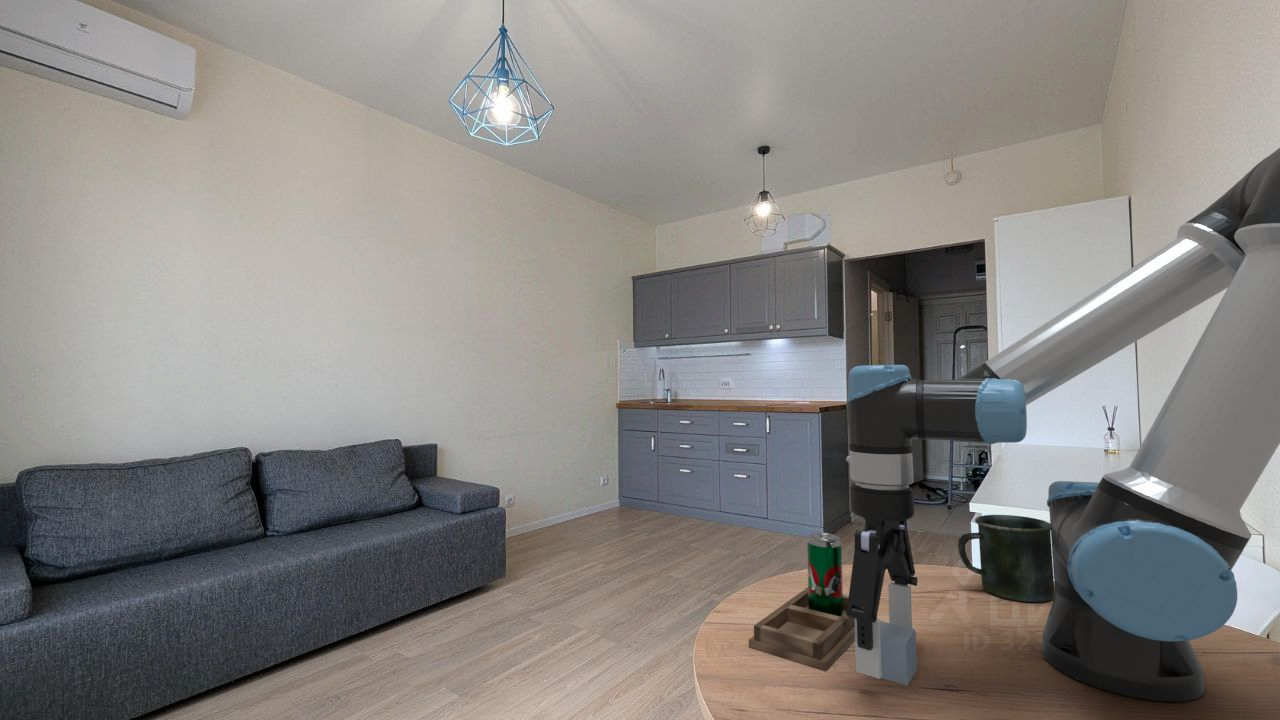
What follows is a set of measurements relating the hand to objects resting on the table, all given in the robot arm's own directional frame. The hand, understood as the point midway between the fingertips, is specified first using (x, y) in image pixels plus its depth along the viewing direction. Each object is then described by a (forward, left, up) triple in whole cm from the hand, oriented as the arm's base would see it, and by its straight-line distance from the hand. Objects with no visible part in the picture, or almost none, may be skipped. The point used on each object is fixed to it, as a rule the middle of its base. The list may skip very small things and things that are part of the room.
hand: (886, 652), depth 70 cm
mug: (-8, -39, -2) cm, 40 cm away
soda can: (+11, -9, -1) cm, 15 cm away
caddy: (+12, -5, -2) cm, 13 cm away
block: (0, 0, -2) cm, 2 cm away
